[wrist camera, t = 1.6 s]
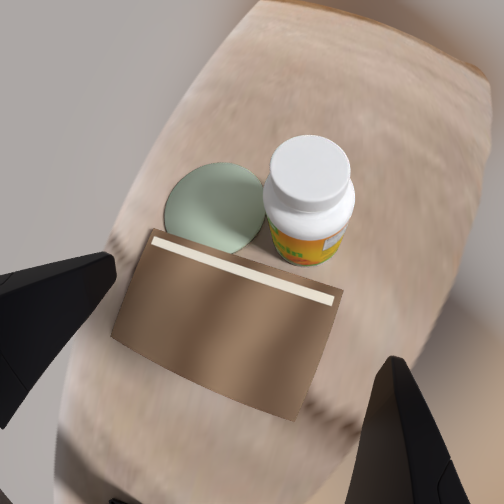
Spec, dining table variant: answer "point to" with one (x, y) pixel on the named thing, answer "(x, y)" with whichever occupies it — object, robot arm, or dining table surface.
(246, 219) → the end pad
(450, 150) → the dining table surface
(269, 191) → the supplement bottle
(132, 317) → the walnut board
